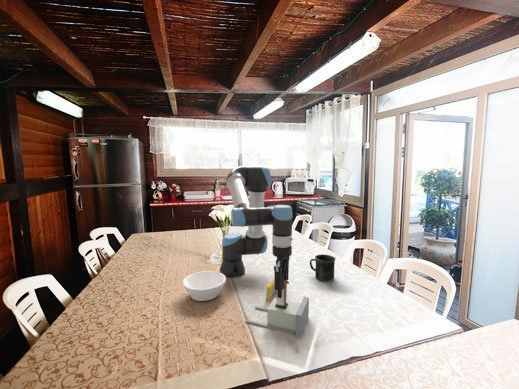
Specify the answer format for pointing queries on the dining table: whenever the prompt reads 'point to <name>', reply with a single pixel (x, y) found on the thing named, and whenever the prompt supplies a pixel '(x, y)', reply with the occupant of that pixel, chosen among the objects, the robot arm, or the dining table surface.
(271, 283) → the candy box
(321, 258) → the mug
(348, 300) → the dining table surface
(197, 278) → the bowl
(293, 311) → the block
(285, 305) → the dowel
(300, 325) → the board
